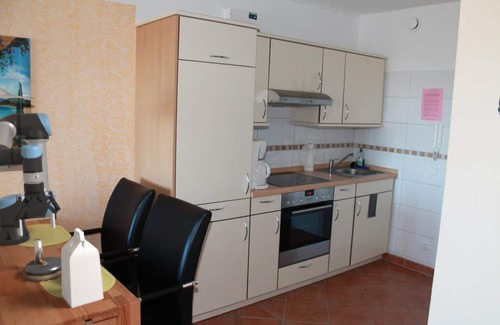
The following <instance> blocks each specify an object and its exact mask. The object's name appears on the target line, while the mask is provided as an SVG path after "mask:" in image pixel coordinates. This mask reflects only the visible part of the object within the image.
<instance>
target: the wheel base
mask: <svg viewBox="0 0 500 325" xmlns="http://www.w3.org/2000/svg"><path fill="white" fill-rule="evenodd" d="M22 276H23V279H24V280H25V281H26V282H30V283H42V282H41V281H45V282H49V281H48V280H51V281H54V280H57V279H59V278H62V272H61V271H58V272H56V273H53V274H49V275H42V276H33V275H29V274H27V273H26V269H25V268H24V270H23V271H22ZM56 278H57V279H56ZM53 279H54V280H53Z"/></svg>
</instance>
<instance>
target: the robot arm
mask: <svg viewBox="0 0 500 325" xmlns="http://www.w3.org/2000/svg"><path fill="white" fill-rule="evenodd" d="M50 123H51V122H50V118H49V116H48V114H47V113H44V112H42V113H41V112H31V113H30V112H29V113H25V112H24V113H23V112H22V113H16V112H15V113H10V114H7V115H5V116H3V117H1V118H0V167H10V166H21V167H22V182H23V194H22V193H14V194H9V195H6V196H5V195H4V196H3V197H0V246H14V245H19V244H24V243H26V242H27V241H30V239H31V235H30V231H29V230H28V228H27V226H26V220H32V219H33V220H34V219H45V218H49V221H50V222H49V223H50V228H51V229H56V220H57V218H58V217H57V214H58V211H61V207H60V204H58V202H57V201H56V199H57V198H56V196H57V195H56V194H54V193H53V190H52V189H50V184H49V180H50V179H49V169H48V154H47V153H48V152H47V142H48V141H49V140H50V137H51V136H52V135H53V133H52V129H51V124H50ZM14 137H15V138H16V137H23V142H25V143H27V144H24V145H22V146H21V147H12V145H13V139H14Z"/></svg>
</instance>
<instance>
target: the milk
mask: <svg viewBox="0 0 500 325" xmlns="http://www.w3.org/2000/svg"><path fill="white" fill-rule="evenodd" d="M73 230H74V231H73V232H74V233H73V235H72V236H71V238H70V239H69V240H68V241H67V242H65V243H64V245H63V246H62V247H61V250H60V251H61V252H60V254H61V255H60V256H61V257H60V258H61V272H62V277H61V296H62V298H63V299H64V300H65V302H66V303H67V304H68V306H69V307H70V308H71V309H72V308H73V309H74V308H76V307H80V306H84V305H87V304H90V303H93V302H98V301H100V300H103V299H104V291H103V290H104V289H103V288H104V287H103V281H102V279H103V277H102V269H101V267H102V266H101V260H100V252H99V250H98V248H97V247H95V246H94V245H93V244H92V243H90V242H89V241H87V239H85V235H84V234H85V233H84V231H83V230H81V229H80V228H78V227H77V228H74V229H73Z"/></svg>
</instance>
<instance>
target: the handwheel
mask: <svg viewBox="0 0 500 325" xmlns="http://www.w3.org/2000/svg"><path fill="white" fill-rule="evenodd" d="M33 248H34V249H33V250H34V252H33V253H34V260H31V261H29V262H28V263H26V265H25V268H24V270H25V269H26V273H27V274H29V275H33V276H42V275H49V274H53V273H56V272H58V271H61V257H59V256H46V257H44V251H43V250H44V249H43V239H42V238H36V239H34V240H33Z"/></svg>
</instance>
